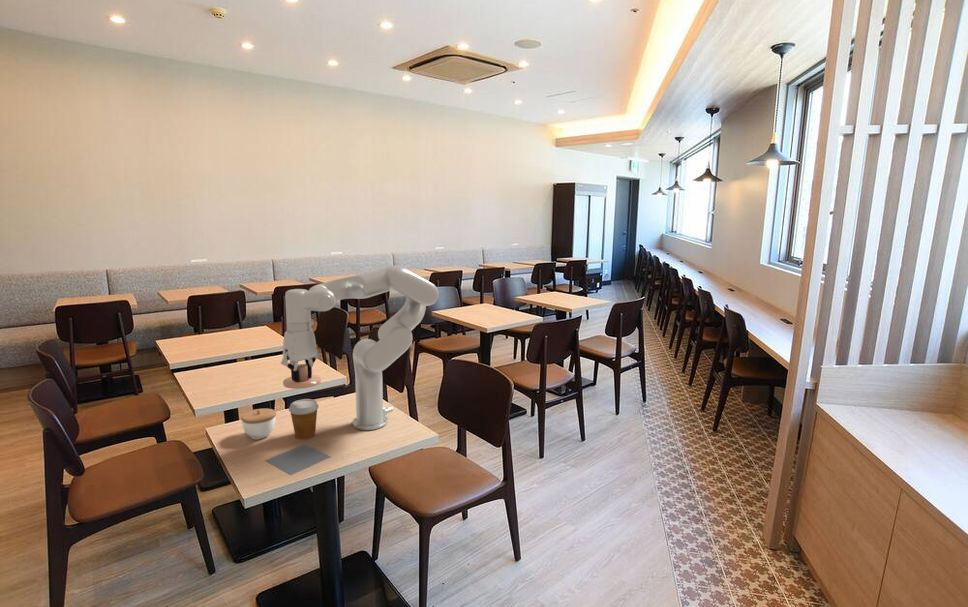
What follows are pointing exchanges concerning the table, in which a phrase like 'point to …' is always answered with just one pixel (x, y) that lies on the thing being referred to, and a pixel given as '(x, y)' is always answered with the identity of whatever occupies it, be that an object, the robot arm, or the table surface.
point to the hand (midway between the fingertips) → (302, 378)
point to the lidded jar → (259, 423)
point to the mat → (297, 459)
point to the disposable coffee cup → (304, 417)
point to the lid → (302, 379)
